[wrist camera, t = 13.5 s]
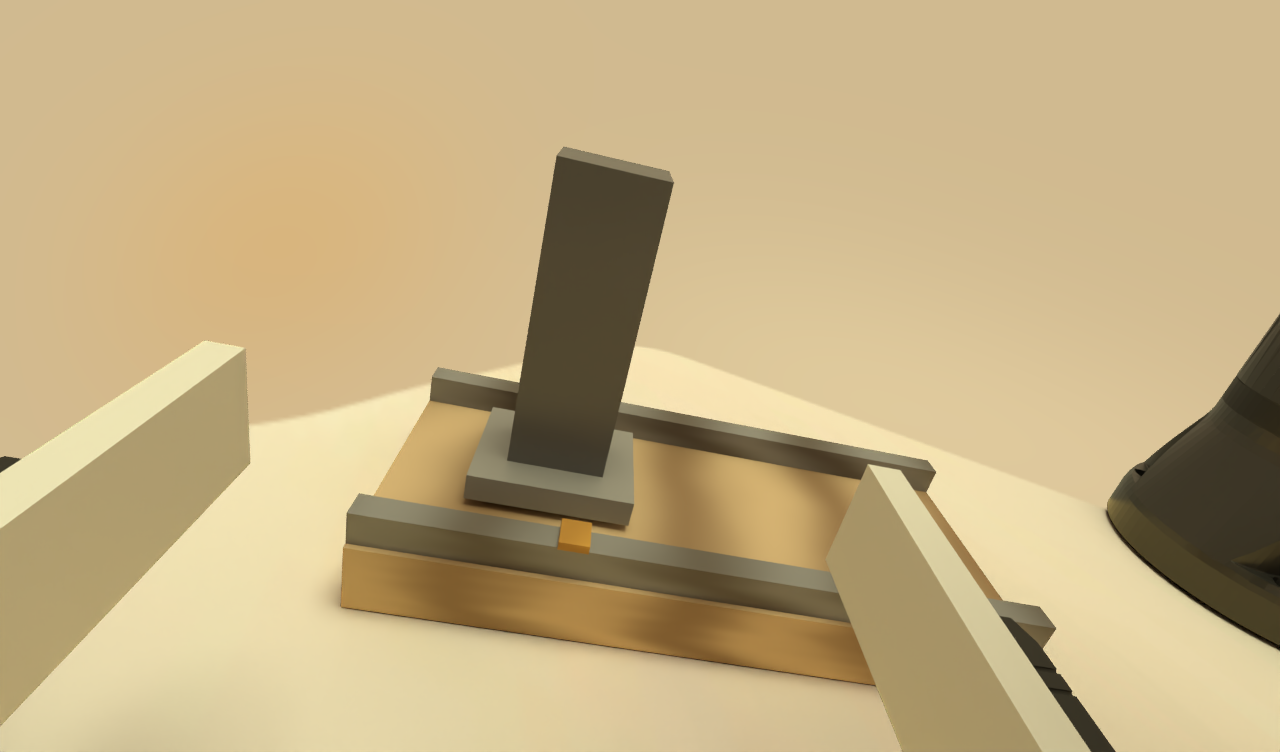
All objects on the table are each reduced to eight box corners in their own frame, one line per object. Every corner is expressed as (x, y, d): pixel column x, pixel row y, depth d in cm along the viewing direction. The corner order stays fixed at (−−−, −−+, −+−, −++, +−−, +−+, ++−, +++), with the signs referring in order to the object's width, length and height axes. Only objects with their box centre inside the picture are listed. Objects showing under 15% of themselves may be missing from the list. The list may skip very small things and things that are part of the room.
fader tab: (627, 452, 28) (699, 173, 23) (628, 526, 24) (717, 199, 19) (490, 427, 27) (532, 134, 22) (463, 498, 23) (509, 151, 18)
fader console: (897, 517, 34) (928, 453, 32) (1010, 704, 24) (1064, 626, 22) (432, 433, 31) (439, 359, 29) (340, 606, 21) (344, 509, 19)
